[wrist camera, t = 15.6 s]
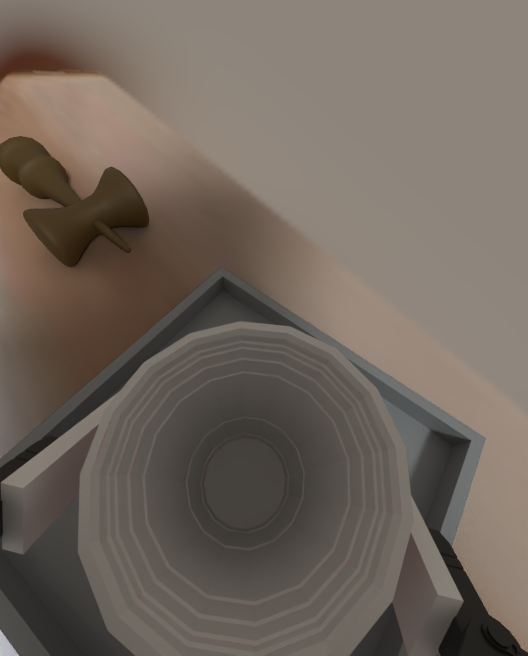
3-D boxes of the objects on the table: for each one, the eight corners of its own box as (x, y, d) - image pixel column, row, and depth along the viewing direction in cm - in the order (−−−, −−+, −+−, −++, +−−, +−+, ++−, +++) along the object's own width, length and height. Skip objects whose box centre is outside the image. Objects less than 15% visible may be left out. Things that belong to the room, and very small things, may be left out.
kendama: (76, 167, 38) (178, 248, 31) (-2, 202, 34) (97, 302, 28) (48, 114, 32) (164, 198, 26) (-47, 148, 29) (61, 256, 22)
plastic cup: (165, 404, 22) (101, 319, 12) (308, 397, 23) (365, 312, 13) (148, 597, 17) (1, 758, 6) (336, 575, 18) (474, 677, 7)
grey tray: (458, 445, 23) (485, 438, 21) (283, 927, 12) (296, 1038, 10) (223, 287, 29) (221, 266, 26) (-32, 521, 18) (-75, 524, 16)
